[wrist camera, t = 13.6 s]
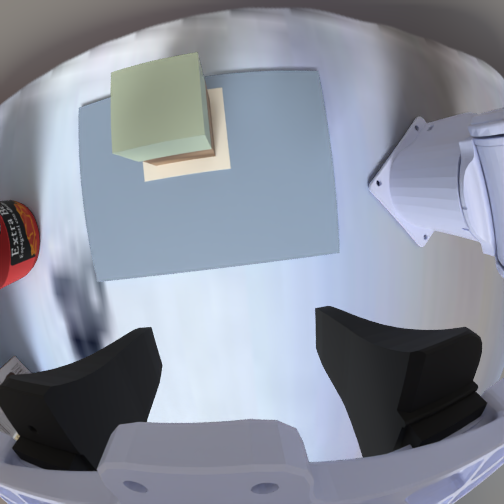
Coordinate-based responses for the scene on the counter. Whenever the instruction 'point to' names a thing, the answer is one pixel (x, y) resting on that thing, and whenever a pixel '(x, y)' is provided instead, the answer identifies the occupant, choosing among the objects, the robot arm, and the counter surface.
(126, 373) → the robot arm
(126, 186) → the board
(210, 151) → the walnut block
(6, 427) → the coffee box
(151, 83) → the sage block
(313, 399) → the counter surface
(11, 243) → the canned food
